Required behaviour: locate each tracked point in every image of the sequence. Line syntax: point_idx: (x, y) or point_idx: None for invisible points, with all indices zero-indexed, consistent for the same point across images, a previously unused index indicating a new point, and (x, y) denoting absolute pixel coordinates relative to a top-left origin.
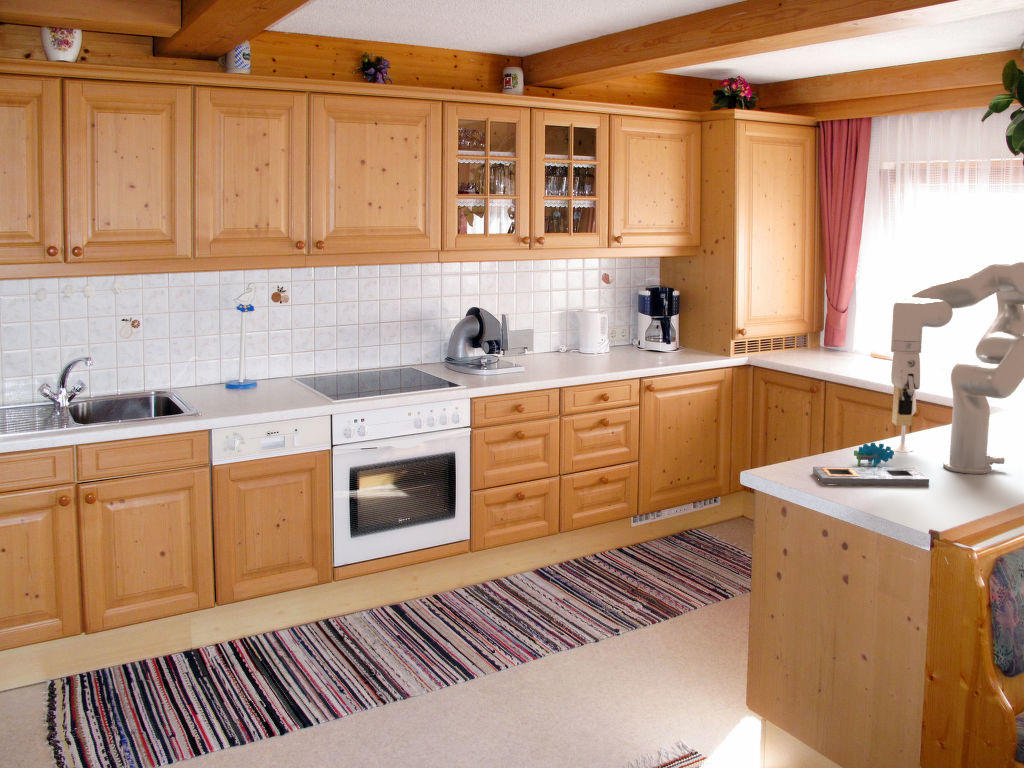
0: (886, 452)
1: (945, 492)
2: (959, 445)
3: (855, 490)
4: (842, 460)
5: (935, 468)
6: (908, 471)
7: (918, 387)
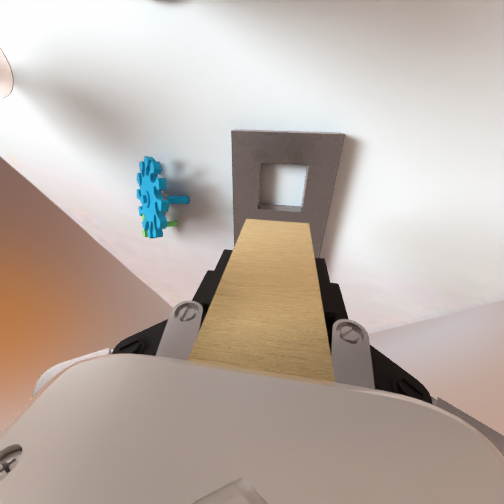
0: (152, 178)
1: (402, 108)
2: None
3: (342, 281)
4: (142, 237)
5: (163, 33)
6: (267, 160)
7: (495, 452)
